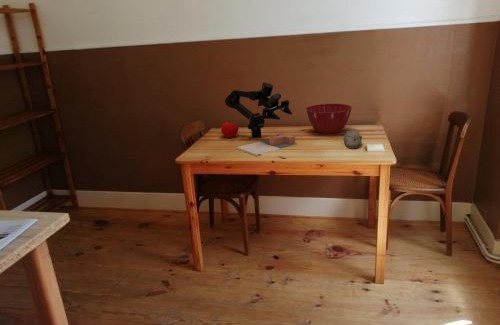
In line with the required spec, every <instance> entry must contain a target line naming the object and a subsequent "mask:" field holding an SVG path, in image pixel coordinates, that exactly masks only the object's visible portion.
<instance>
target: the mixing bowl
mask: <svg viewBox="0 0 500 325" xmlns="http://www.w3.org/2000/svg"><path fill="white" fill-rule="evenodd" d="M352 109H353V106H352V105H349V104H345V103H321V104H313V105H310V106H309V105H308V106H307V107H306V108H305V111H306V114H307V117H308V120H309V122H310V124H311V127H312V128H313V129H314V130H315V131H316V132H317V133H319V134H323V135H333V134H337V133H339V132H341V131H342V130H343V129H344V128H345V127H346V125H347V123H348V120H349V118H350V116H351V111H352Z"/></svg>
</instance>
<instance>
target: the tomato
mask: <svg viewBox="0 0 500 325" xmlns="http://www.w3.org/2000/svg"><path fill="white" fill-rule="evenodd" d="M220 132H221V134H222V136H224V137H225V138H226V139H227V138H228V139H230V138H234V137H236V136H237V135H238V132H239V126H238V124H237V123H236V122H235V121H232V120H231V121H226V122H223V124H222V125H221V126H220Z"/></svg>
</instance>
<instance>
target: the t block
mask: <svg viewBox="0 0 500 325" xmlns="http://www.w3.org/2000/svg"><path fill="white" fill-rule="evenodd" d="M268 140H270V145H273V146H275V145H279V144H284V143H286V144H293V143H296V136H294V135H291V134H288V133H284V132H280V133H276V135H275V136H270V137H269V139H268Z"/></svg>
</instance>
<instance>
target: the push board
mask: <svg viewBox="0 0 500 325" xmlns="http://www.w3.org/2000/svg"><path fill="white" fill-rule="evenodd" d="M296 145H298V143H297V142H295V143H293V144H286V143H284V144H279V145H275V146H273V145H270V140H269V139H267V140H262V141H257V142H254V143H248V144H244V145H240V146H237V147H236V150H239V151H241V152H244V153H247V154H249V155H252V156H255V157H259V156H260V157H261V156H262V154H264V153H268V152H273V151H277V150H281V149H285V148H289V147H292V146H296Z"/></svg>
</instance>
